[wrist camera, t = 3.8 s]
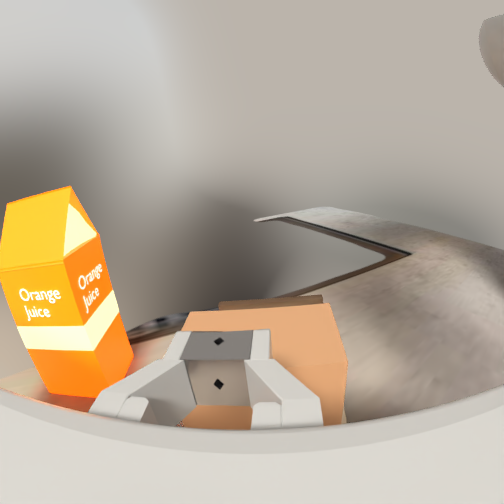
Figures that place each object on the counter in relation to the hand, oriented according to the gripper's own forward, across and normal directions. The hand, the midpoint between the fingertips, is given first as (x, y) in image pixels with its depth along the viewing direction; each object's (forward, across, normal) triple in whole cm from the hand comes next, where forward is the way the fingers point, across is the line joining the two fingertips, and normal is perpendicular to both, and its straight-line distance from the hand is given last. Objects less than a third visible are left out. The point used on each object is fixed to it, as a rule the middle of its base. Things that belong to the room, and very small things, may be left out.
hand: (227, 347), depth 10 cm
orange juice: (+14, +19, +15) cm, 28 cm away
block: (+6, 0, +14) cm, 15 cm away
